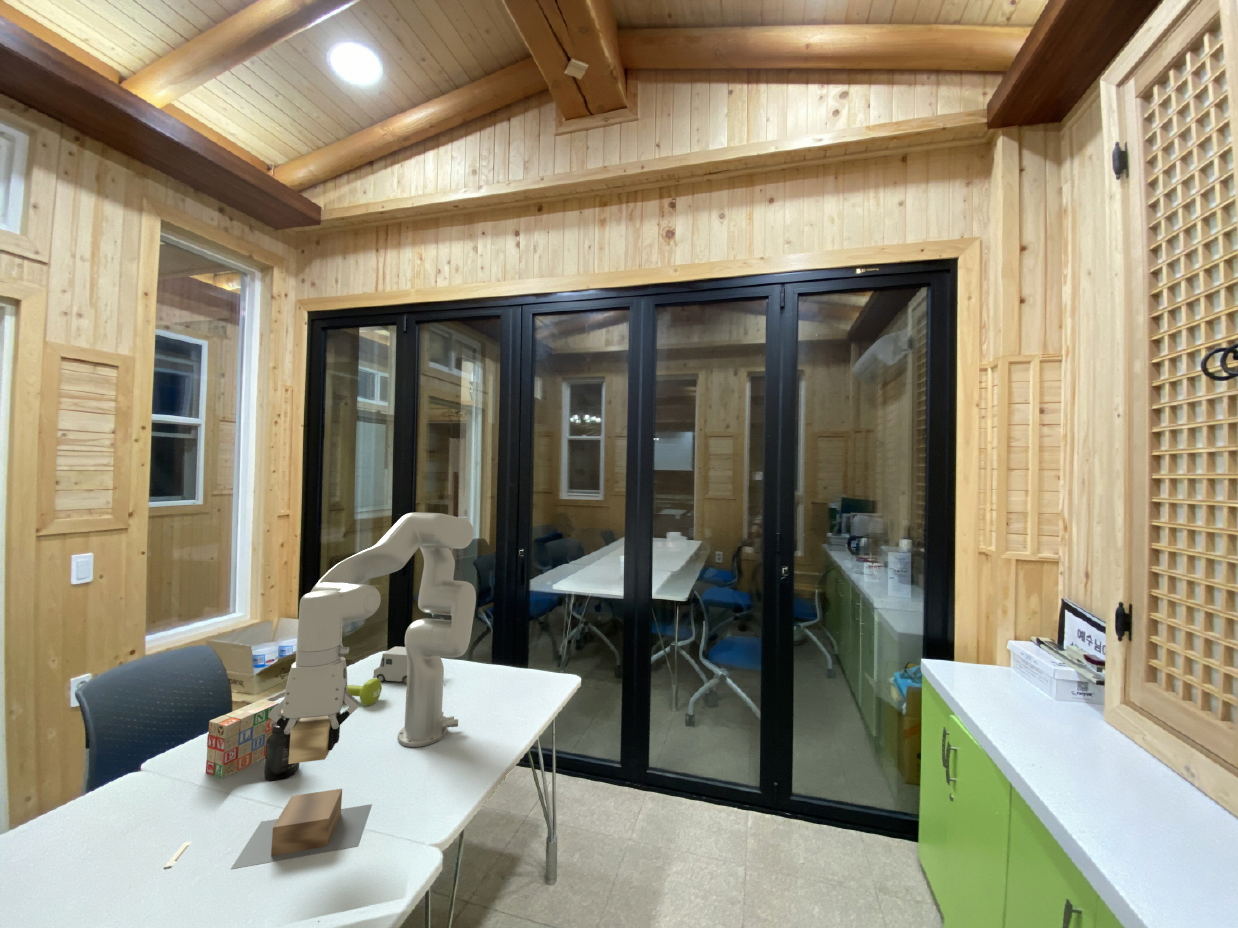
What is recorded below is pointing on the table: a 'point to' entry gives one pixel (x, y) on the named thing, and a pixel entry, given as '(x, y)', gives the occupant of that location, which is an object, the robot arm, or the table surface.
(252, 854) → the board
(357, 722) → the table surface
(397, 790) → the table surface
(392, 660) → the toy vehicle
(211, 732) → the stack of blocks
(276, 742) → the supplement bottle
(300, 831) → the brick
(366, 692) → the dumbbell
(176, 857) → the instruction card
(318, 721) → the oak brick
